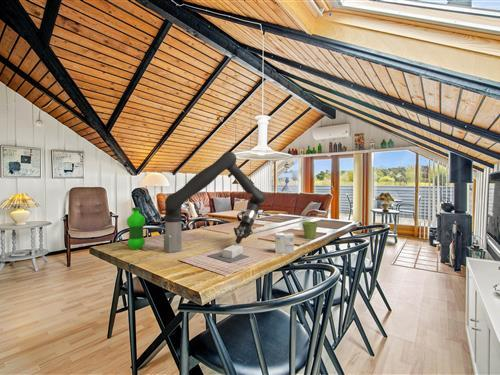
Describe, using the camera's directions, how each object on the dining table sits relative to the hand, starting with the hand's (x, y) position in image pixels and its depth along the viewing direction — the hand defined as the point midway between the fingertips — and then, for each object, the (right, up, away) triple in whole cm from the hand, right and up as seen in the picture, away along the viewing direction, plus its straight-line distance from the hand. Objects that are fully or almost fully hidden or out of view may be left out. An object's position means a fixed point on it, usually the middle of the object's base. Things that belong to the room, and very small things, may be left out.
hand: (237, 243), depth 143 cm
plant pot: (+51, -6, +41) cm, 65 cm away
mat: (-5, -6, -6) cm, 10 cm away
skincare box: (+1, -3, 0) cm, 3 cm away
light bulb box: (+27, -6, +3) cm, 28 cm away
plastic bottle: (-63, -6, +12) cm, 64 cm away
